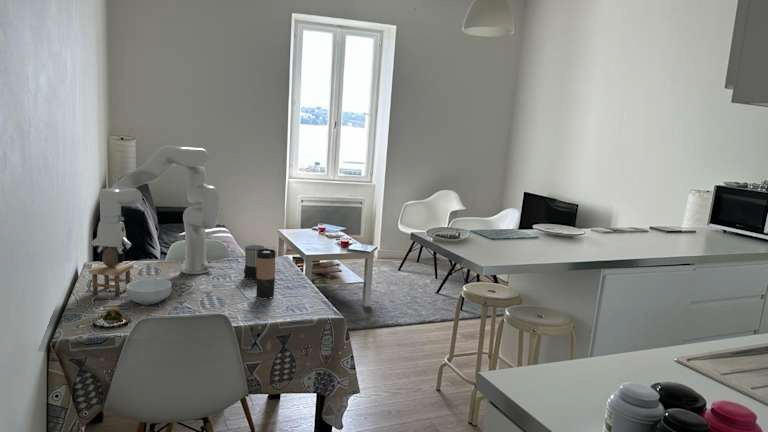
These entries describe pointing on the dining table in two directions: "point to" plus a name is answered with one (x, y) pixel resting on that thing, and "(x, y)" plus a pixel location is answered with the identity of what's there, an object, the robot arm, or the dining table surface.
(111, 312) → the mossy pebble dish
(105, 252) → the vase
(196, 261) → the robot arm
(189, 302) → the dining table surface
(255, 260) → the milk frother
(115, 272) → the stool
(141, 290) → the cereal bowl
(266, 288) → the travel mug
